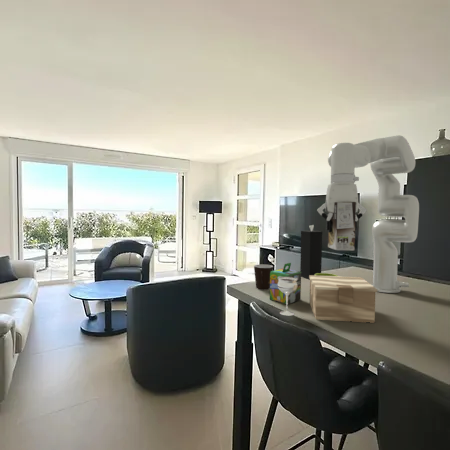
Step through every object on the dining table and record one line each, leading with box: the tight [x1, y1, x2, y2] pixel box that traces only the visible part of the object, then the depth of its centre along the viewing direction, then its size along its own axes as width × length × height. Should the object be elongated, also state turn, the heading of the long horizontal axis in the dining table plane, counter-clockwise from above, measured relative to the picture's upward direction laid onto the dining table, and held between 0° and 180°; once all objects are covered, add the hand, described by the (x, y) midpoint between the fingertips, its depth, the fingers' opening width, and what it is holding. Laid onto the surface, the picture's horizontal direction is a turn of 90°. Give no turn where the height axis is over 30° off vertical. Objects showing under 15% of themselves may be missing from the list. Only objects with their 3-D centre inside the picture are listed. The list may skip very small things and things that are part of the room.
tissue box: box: [299, 224, 323, 280], centre depth 161 cm, size 8×8×28 cm
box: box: [309, 279, 376, 324], centre depth 106 cm, size 17×18×10 cm
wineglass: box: [277, 277, 297, 317], centre depth 104 cm, size 7×7×12 cm
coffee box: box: [327, 202, 357, 252], centre depth 104 cm, size 9×6×16 cm
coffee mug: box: [253, 263, 274, 291], centre depth 138 cm, size 12×9×10 cm
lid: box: [309, 275, 378, 304], centre depth 105 cm, size 18×19×5 cm
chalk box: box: [269, 262, 302, 305], centre depth 120 cm, size 9×9×15 cm
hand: (341, 232), depth 104 cm, fingers closed on coffee box, 7 cm apart
